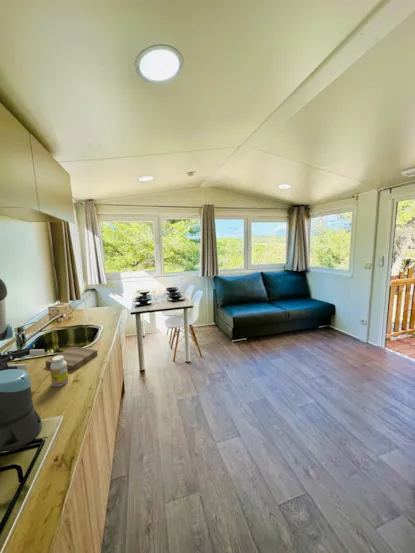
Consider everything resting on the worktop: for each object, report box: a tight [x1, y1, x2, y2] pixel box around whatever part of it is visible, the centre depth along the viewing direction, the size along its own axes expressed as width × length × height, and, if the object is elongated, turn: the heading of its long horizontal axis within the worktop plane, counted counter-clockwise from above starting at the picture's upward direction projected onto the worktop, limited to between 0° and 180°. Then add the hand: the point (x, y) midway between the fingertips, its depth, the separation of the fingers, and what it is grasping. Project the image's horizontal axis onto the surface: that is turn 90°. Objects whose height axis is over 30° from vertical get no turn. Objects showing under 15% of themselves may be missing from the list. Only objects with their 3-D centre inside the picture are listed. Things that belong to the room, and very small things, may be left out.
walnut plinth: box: [45, 346, 99, 372], centre depth 133 cm, size 18×18×3 cm
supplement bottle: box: [49, 355, 69, 387], centre depth 112 cm, size 7×7×13 cm
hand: (35, 359), depth 110 cm, fingers open, 13 cm apart
